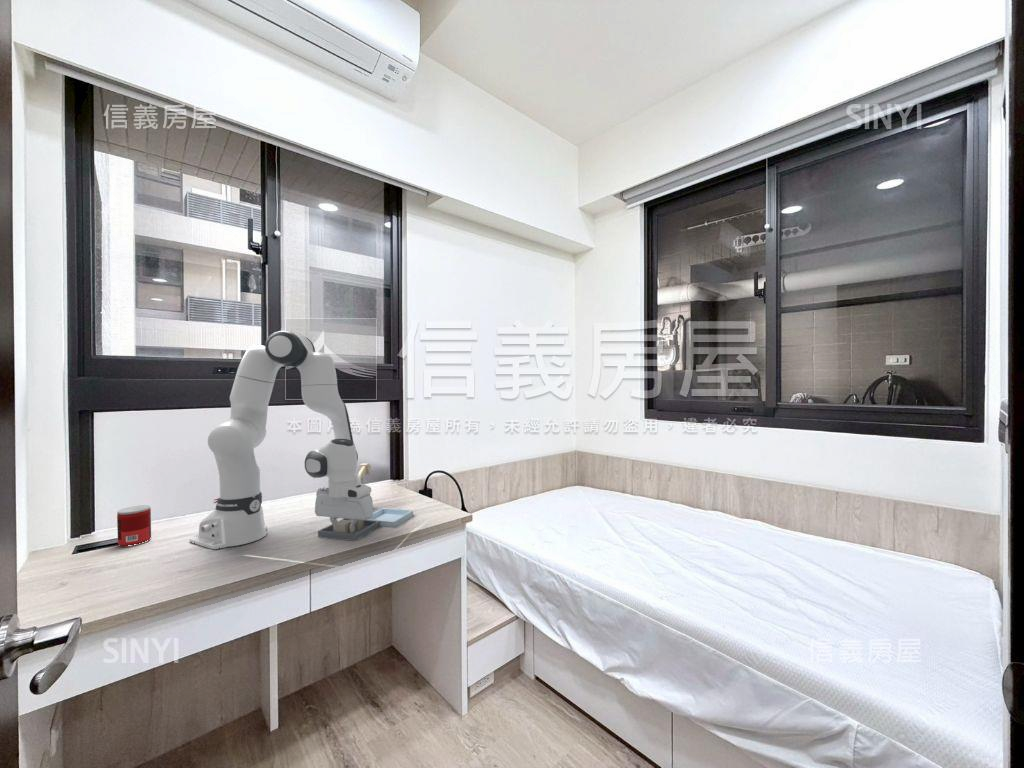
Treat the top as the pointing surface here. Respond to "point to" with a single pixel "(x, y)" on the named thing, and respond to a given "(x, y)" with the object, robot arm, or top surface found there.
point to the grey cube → (342, 526)
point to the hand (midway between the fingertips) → (343, 530)
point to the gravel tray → (356, 534)
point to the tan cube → (358, 524)
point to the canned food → (134, 525)
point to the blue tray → (391, 516)
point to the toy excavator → (364, 472)
